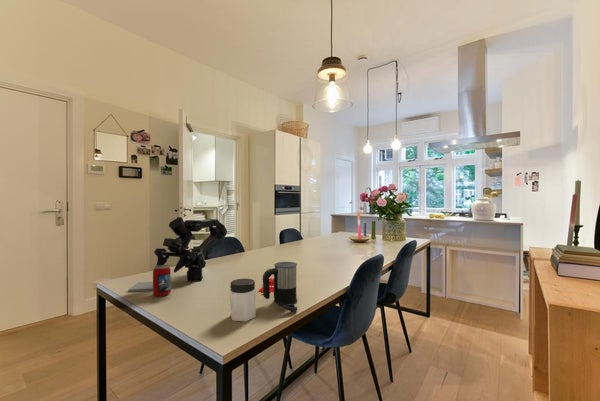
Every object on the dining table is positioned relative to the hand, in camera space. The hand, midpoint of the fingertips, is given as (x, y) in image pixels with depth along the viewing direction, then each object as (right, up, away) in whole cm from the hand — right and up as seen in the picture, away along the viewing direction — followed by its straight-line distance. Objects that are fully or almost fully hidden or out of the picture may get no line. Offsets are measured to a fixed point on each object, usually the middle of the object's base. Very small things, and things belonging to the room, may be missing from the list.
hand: (165, 271), depth 121 cm
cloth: (+45, -10, +9) cm, 47 cm away
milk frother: (+53, -9, -15) cm, 56 cm away
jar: (+38, -10, -24) cm, 46 cm away
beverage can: (-1, -10, -2) cm, 10 cm away
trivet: (-13, -9, +8) cm, 18 cm away
